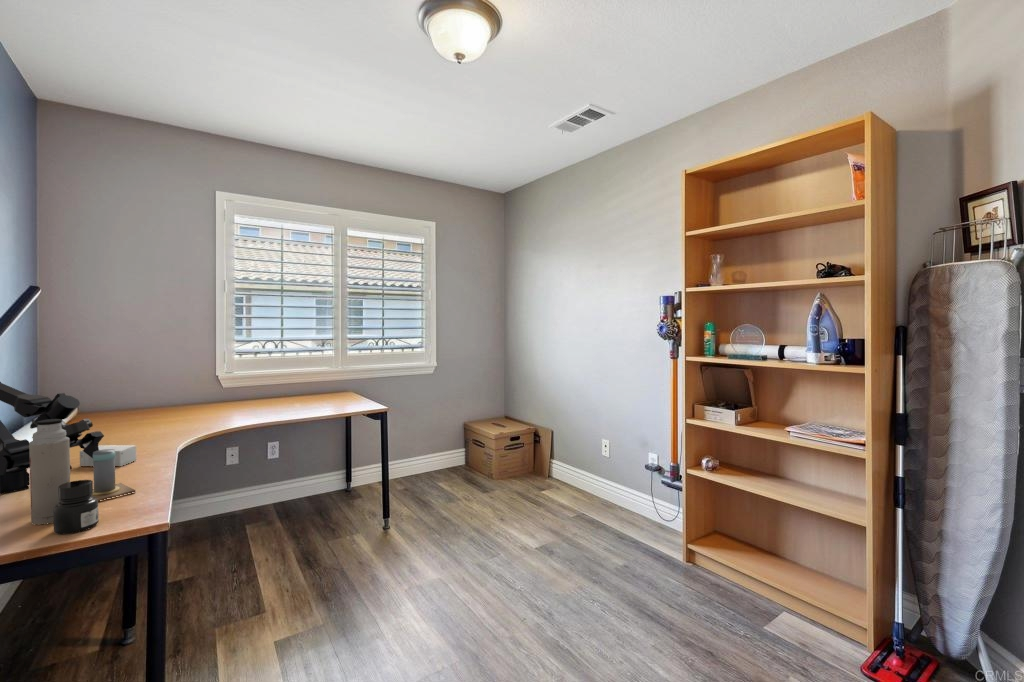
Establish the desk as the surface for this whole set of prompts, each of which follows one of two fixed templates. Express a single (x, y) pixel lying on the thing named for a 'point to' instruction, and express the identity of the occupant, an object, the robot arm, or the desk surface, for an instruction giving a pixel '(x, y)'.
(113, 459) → the grey cylinder
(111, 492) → the plate
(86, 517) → the ink bottle
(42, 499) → the thermos bottle
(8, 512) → the desk surface
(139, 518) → the desk surface
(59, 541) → the desk surface
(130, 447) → the skincare box
